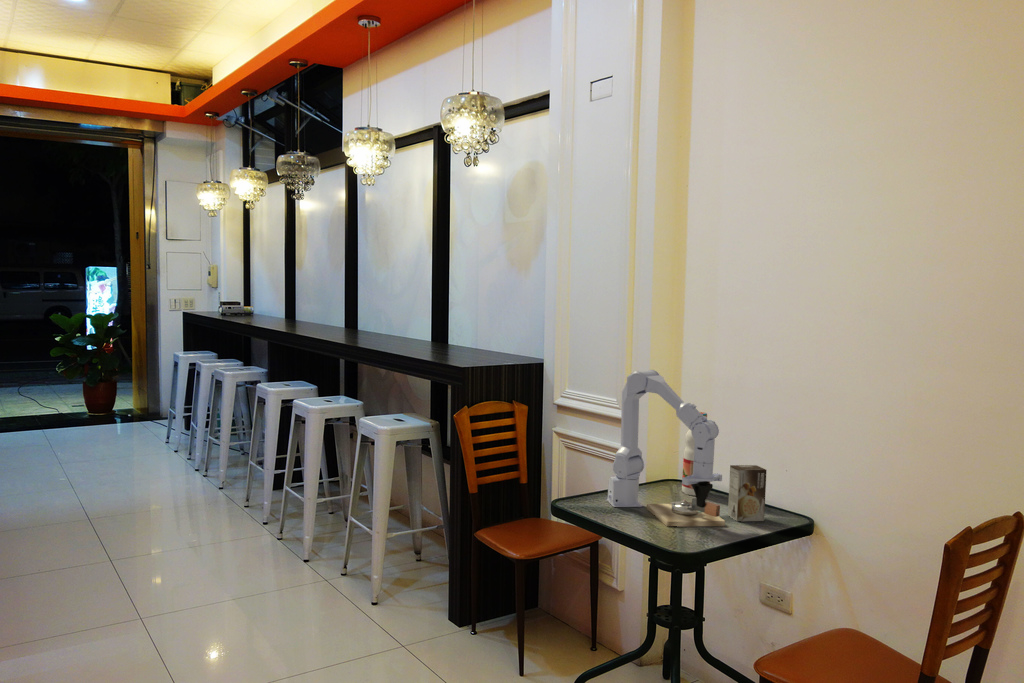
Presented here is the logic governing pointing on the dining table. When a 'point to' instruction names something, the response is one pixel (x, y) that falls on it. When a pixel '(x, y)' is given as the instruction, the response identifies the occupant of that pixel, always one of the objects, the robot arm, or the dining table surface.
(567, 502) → the dining table surface
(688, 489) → the fruit juice
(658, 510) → the nut base
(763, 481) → the biscuit box
